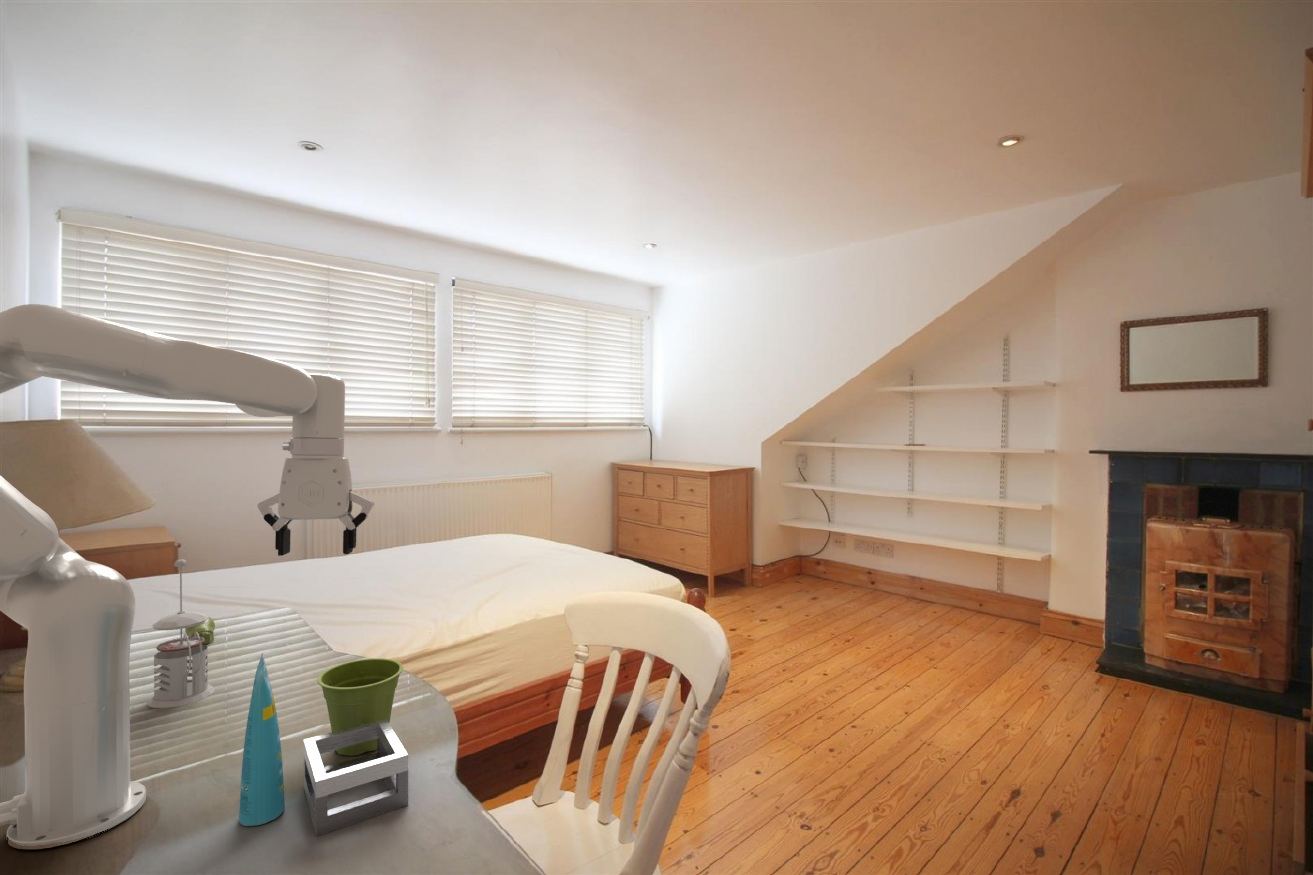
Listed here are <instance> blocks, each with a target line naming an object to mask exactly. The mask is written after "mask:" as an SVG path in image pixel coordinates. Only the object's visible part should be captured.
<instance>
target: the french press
mask: <svg viewBox="0 0 1313 875" xmlns="http://www.w3.org/2000/svg"><path fill="white" fill-rule="evenodd" d="M173 565H174V567H177V568H178V567H179V598H180V599H179V600H180V601H179V603H180V604H179V605H180V606H179V607H180V608H179V609H180V610H179V611H178V612H174V613H171V614H169V615H165V616H164V617H161V618H160V619H159V620H157V621H156V622H155V623H153V624H152V625H151V626H152V628H153V629H154V630H156V631H174V630H175V631H176V630H177V631H178V630H180V633H179V634H180V637H178V638H176V639H175V638H173V639H170V640H166V641H164V642H162V643H159V644H158V645H157V646H155V648H156V650H157V651H158V652H156V653H155V654H154V655H153V667H157V666H159V667H157V668H154V669H153V674H154V676H153V681H154V684H153V686H154V687H153V688H154V691H153V694H154V695H153V696H152V697H151V698H150V699H148V701H147V702H146V704H147V707H149V708H150V707H151V708H153V709H166V708H174V707H175V708H176V707H180V706H181V707H182V706H185V705H189V704H193V703H195V702H197V701H201V700H203V699H205V698H207V697H210V695H212V694H213V693H214V692H215V691H216V689H215V688H214V686H212V685H211V684H210V683H209V675H208V674H209V669H208V667H209V664H208V660H209V656H208V653H209V652H208V651H209V650H208V649H209V648H208V646H207V645H208V644H205V645H202V644H203V643H204V642H205V640H206V639H205V638H202V637H199V634H198V633H197V632H196V631H195V633H194V637H193V636H192V637H188V636H187V635H186V633H184V634H183V629H185V628H189V627H193V626H196V625H199V624H201V623H204V622H205V621H206V620H207V619H208V618H209V617H210V616H208V615H207V614H204V613H201V612H200V611H193V610H191V611H190V610H189V611H185V610H184V611H183V588H182V587H183V579H182V576H183V574H182V573H183V570H182V568H183V567H185V566H188V561H187V560H186V559H183V558H182V559H176V561H175V562H174V563H173ZM196 634H197V636H198V637H196ZM188 658H189V659H188ZM191 665H192V666H191ZM190 671H192V672H190ZM158 673H160V674H158ZM155 674H157V675H155ZM188 677H189V678H192V679H188ZM158 680H160V681H158ZM155 681H158V682H155ZM156 688H158V689H156Z"/></svg>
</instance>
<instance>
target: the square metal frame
mask: <svg viewBox="0 0 1313 875" xmlns="http://www.w3.org/2000/svg"><path fill="white" fill-rule="evenodd" d="M374 739H377V749H376V751H377V752H373V753H370V754H366V755H362V756H359V757H355V758H352V759H347V760H345V761H341V762H338V763H334V764H330V765H326V766H324V764H323V760H322V758H321V755H322V754H325V753H329V752H334V751H336V750H337V749H341V748H344V747H348V746H352V745H355V744H359V743H363V742H366V741H370V740H374ZM381 779H383V780H384V782H385V784H386V786H387V788H388V790H387V791H384V792H381V793H378V794H375V795H371V796H368V797H365V798H362V799H359V800H355V801H352V802H350V803H347V804H343V805H340V806H337V807H334V808H331V809H329V808H328V806H329V805H328V796H330V795H333V794H335V793H336V794H337V793H339V792H342V791H345V790H349V789H351V788H355V787H358V786H361V785H362V786H363V785H366V784H369V783H370V782H374V781H377V780H381ZM303 790H304V794H305V798H306V801H307V805H308V808H309V809H308V810H309V814H310V816H311V821H312V825H313V829H314V832H315V837H318V836H322V835H325V834H327V833H329V832H334V831H337V830H339V829H342V828H345V827H348V826H350V825H354V824H357V823H359V822H362V821H366V820H369V819H371V818H374V817H377V816H381V815H383V814H387V813H389V812H390V813H391V812H392V811H395V810H398V809H401V808H404V807H406V806H409V754H408V752H407V750H406V748H404V745H403V744H402V742H401V741H400V739H399V737H398V736H397V734H396V733H395V731H394V729H393V727H392V725H391V724H390V723H388V721H387V719H382V720H378V721H374V722H370V723H367V724H363V725H359V726H355V727H351V728H347V729H343V730H339V731H335V732H332V731H331V732H328V733H323V734H320V735H316V736H312V737H309V738H304V739H303Z"/></svg>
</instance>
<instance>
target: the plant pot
mask: <svg viewBox="0 0 1313 875" xmlns="http://www.w3.org/2000/svg"><path fill="white" fill-rule="evenodd" d="M403 670H404V665H403V663H401V662H400V661H398V660H395V659H392V658H385V657H384V658H383V657H374V658H362V659H357V660H356V659H355V660H352V661H347V662H343V663H339V664H337V665H333V666H332V667H329V668H328V669H325V670H324V671H323V672H321V673H320V674H319V675H318V677H317V684H318V685H319V686H320V687H321V688H322V692H323V697H324V699H325V701H326V707H327V712H328V719H329V724H330V728H331V732H335V731H339V730H343V729H347V728H351V727H355V726H359V725H363V724H367V723H370V722H374V721H378V720H382V719H387V721H388V723H389V724H390V722H391V717H392V712H393V704H394V699H395V693H396V688H397V686H398V682H399V677H400V674H402V672H403ZM335 751H336V753H338V754H339V755H344V756H351V757H352V756H354V757H355V756H360V755H362V754H364V753H366V752H373V751H377V739H374V740H370V741H366V742H363V743H359V744H355V745H352V746H348V747H344V748H341V749H337V750H335Z"/></svg>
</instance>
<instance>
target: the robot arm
mask: <svg viewBox="0 0 1313 875" xmlns="http://www.w3.org/2000/svg"><path fill="white" fill-rule="evenodd" d="M42 377H45V378H51V379H56V380H61V381H65V382H66V381H67V382H71V383H77V384H81V385H88V386H94V387H98V388H102V389H108V390H114V391H118V392H123V393H128V394H134V395H138V396H143V397H148V398H156V399H164V400H173V401H174V400H175V401H177V400H178V401H181V400H182V401H209V402H211V401H212V402H218V403H225V404H226V403H227V404H234V405H235V406H236V407H237V408H238V410H240V411H242V412H243V413H245V414H247V415H250V416H253V417H258V418H259V417H260V418H272V417H273V418H276V417H292V429H291V430H292V431H291V433H292V434H291V435H292V437H291V438H290V441H286V442H285V441H284V442H283V443H282V447H281V448H282V450H283V451H287V452H289V454H290V455H291V457H286V458H285V460H284V463H283V469H282V471H281V472H282V473H281V478H280V486H279V493H278V494H276V495H273V496H271V497H269V498H267V499H265V500H263V501H261V502H259V503H258V504H257V508H258V510H259V512H260V513H261V515H262V517H263V520H264V521H265V522H266V523H267V524H268V525H269V526H270V527H271V528H272V530H273V531H275V536H274V537H275V544H274V545H275V547H274V548H275V550H276V551H277V555H278V557H279V556H280V557H281V556H284V555H287V554H289V553H291V533H292V532H291V531H292V530H291V528H289V525H290V524H291V523H292V522H293V521H295V520H298V521H299V520H303V521H304V520H305V521H306V520H336V519H339V520H340V521H341V523H342V524H343V525H344V526H345V529H344V530H343V532H342V533H343V535H342V537H343V538H342V554H344V555H349V554H352V552H353V550H354V549H355V548H356V547H357V528H358V527H359V526H361V524H362V523H364V522H365V521H366V520H367V519H368V517H369V515H370V514H371V512H372V510H373V508H374V506H375V502H374V501H373V500H370V499H368V498H366V497H364V496H363V495H360V494H359V493H356V492H353V483H352V474H351V468H350V466H351V465H350V463H349V458H348V457H345V455H344V454H345V417H346V416H345V414H346V412H345V407H346V406H345V405H346V403H345V402H346V385H345V381H344V379H342V378H341V377H340V376H337V375H333V374H324V373H308V372H307V371H306V370H304V369H302V368H301V367H299V366H296V365H294V364H290V363H287V362H283V361H280V360H277V359H272V358H270V357H265V356H262V355H259V354H255V353H250V352H245V351H241V350H236V349H233V348H232V349H231V348H227V347H221V346H214V345H210V344H205V343H201V342H197V341H193V340H189V339H181V338H177V337H171V336H168V335H164V334H159V333H155V332H153V331H147V330H144V329H140V328H136V327H131V326H128V325H124V324H121V323H118V322H114V321H110V320H106V319H102V318H99V317H95V316H91V315H89V314H86V313H85V314H84V313H80V312H76V311H73V310H68V309H66V308H62V307H56V306H51V305H47V304H38V303H30V304H29V303H28V304H20V305H17V306H13V307H11V308H8V309H6V310H3V311H1V312H0V395H2V394H4V393H6V392H9V391H11V390H14V389H15V388H18V387H20V386H23V385H25V384H29V383H30V382H32V381H34V380H37V379H39V378H42ZM353 503H355V504H357V505H358V506H361V510H360V512H359V513H358V514H357V515H356V516H354V515H353V514H352V512H353V505H354V504H353ZM275 505H277V506H278V507H277V510H278V516H277V514H276V513H274V511H273V506H275ZM0 612H2V613H3V614H4V615H6V616H7V617H8V618H9V619H11V620H12V621H14V622H15V623H17V624H18V625H20V626H22V627H24V628H25V629H27V637H28V638H27V639H28V640H27V650H26V657H25V666H24V676H23V677H24V678H23V679H24V680H23V706H24V784H25V785H24V787H25V788H24V792H23V793H22V794H18V795H14V796H13V797H12V799H10V800H7V801H3V802H0V827H2V826H5V825H9V824H10V825H9V826H8V828H7V831H6V838H7V837H8V838H9V840H11V841H12V842H14V843H16V844H18V845H22V846H24V845H25V846H26V845H27V846H36V845H37V846H38V845H46V844H50V843H51V844H52V843H57V842H58V843H59V842H66V841H70V840H75V839H79V838H82V837H86V836H90V835H93V834H95V833H99V832H102V831H104V832H106V831H108V830H110V829H112V828H114V827H116V826H117V825H120V824H121V823H123V822H124V821H127V820H128V819H129V818H130V817H132V816H133V815H134V814H136V812H138V810H140V809H141V808H142V806H143V805H144V804H145V802H146V798H147V788H146V786H145V785H144V784H142V783H140V782H137V781H134V780H131V707H130V706H131V704H130V698H131V694H130V693H131V690H130V689H131V687H130V686H131V685H130V684H131V683H130V652H131V639H132V633H133V628H134V620H135V614H136V597H135V593H134V590H133V588H132V586H131V584H130V583H129V581H128V580H127V579H126V577H124V575H123V574H121V573H119V572H118V571H117V570H116V569H114V568H111V567H109V566H107V565H104V564H101V563H97V562H95V561H90V560H87V559H85V558H84V557H83V556H82V555H80V554H79V553H77V552H76V550H74V549H73V548H72V547H71V546H70V545H69V544H67V543H66V542H65V541H64V540H63V539H62V538H60V534H59V529H58V527H57V525H56V523H55V521H54V519H53V518H52V517H51V516H50V515H49V514H48V513H47V512H46V511H44V510H43V509H42V508H41V507H39V506H38V505H36V504H35V503H33V502H32V501H31V500H30V499H29V498H27V497H26V496H25V495H24V494H23V493H22V492H20V491H19V490H18V489H17V488H15V486H14V485H12V484H11V483H10V482H9V481H8V480H6V479H5V478H4V477H3V476H2V475H1V474H0ZM107 829H108V830H107ZM105 830H106V831H105ZM102 833H103V832H102ZM99 834H100V833H99Z"/></svg>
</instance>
